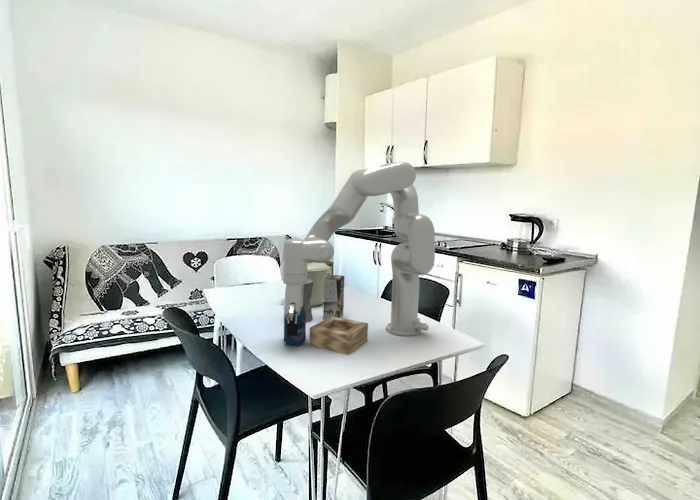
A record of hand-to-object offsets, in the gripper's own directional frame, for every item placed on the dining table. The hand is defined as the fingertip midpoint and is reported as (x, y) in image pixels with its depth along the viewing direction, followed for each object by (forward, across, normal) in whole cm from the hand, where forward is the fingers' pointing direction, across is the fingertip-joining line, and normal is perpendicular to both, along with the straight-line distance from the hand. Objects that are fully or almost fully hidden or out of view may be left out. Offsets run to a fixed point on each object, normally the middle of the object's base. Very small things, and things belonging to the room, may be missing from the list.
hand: (294, 330), depth 134 cm
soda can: (+5, 0, 0) cm, 5 cm away
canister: (+5, -48, 0) cm, 48 cm away
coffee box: (+5, -29, +12) cm, 32 cm away
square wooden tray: (+4, -2, +14) cm, 15 cm away
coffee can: (+5, -72, +4) cm, 72 cm away
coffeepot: (+5, -24, -1) cm, 25 cm away
